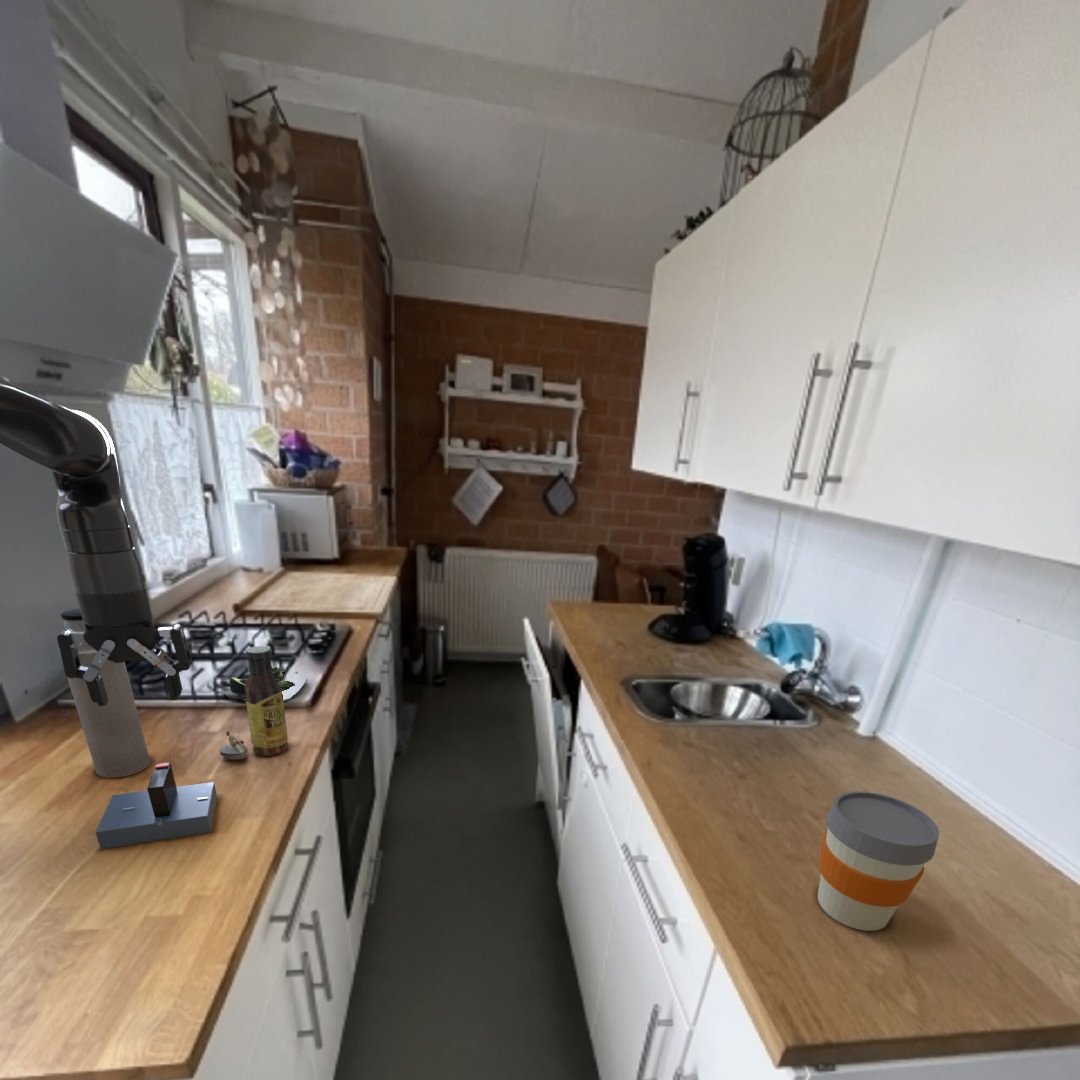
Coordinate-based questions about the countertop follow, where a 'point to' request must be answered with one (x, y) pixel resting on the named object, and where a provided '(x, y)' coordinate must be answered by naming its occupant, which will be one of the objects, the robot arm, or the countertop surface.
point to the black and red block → (162, 790)
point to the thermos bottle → (108, 713)
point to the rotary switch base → (137, 824)
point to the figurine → (234, 748)
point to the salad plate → (239, 684)
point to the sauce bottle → (264, 704)
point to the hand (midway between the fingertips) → (140, 701)
